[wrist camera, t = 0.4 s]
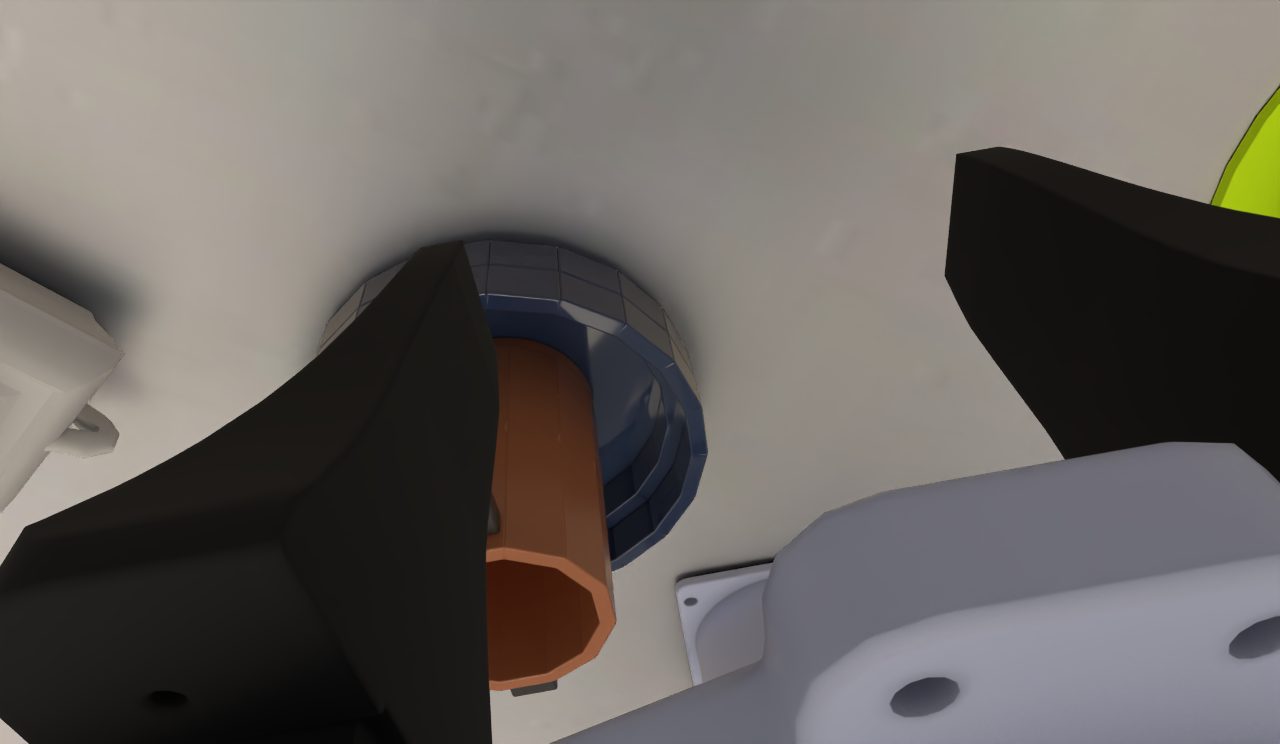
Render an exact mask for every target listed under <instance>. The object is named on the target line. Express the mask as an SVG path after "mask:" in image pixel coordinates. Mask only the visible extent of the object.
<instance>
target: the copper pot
mask: <svg viewBox="0 0 1280 744" xmlns="http://www.w3.org/2000/svg"><path fill="white" fill-rule="evenodd" d="M492 339H493V342H494V345H495V349H496V352H497V360H498V379H499V404H500V411H499V422H498V432H497V443H496V453H495V462H494V472H493V481H492V491H491V500H490V510H489V519H488V529H487V547H486V587H487V633H488V665H489V689H490V690H495V691H499V690H500V691H503V690H508V689H510V690H511V692H512V695H513V696H514V697H517V696H522V695H528V694H533V693H539V692H544V691H550V690H555V689H557V679H559V678H561V677H562V676H564V675H566V674H568V673H569V672H571V671H573V670H575V669H576V668H578V667H580V666H582V665H583V664H585V663H587V662H589V661H590V660H592V659H594V658H595V657H596V656H597V655H598V653H599V652H600V650H601V648H602V646H603V645H604V643H605V641H606V640H607V638H608V636H609V635H610V633H611V631H612V629H613V628H614V626H615V624H616V611H615V601H614V591H613V582H612V572H611V562H610V552H609V542H608V532H607V522H606V512H605V502H604V492H603V483H602V473H601V463H600V453H599V443H598V433H597V423H596V416H595V412H594V408H593V401H592V394H591V390H590V387H589V384H588V382H587V380H586V378H585V376H584V375H583V373H582V372H581V370H580V369H579V368H578V367H577V366H576V365H575V364H574V363H573V362H572V361H571V360H570V359H569V358H568V357H566V356H565V355H564V354H562V353H561V352H559V351H557V350H556V349H554V348H552V347H549V346H547V345H545V344H542V343H539V342H536V341H532V340H527V339H522V338H511V337H503V338H492Z"/></svg>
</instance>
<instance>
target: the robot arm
mask: <svg viewBox="0 0 1280 744" xmlns="http://www.w3.org/2000/svg"><path fill="white" fill-rule="evenodd" d="M945 278H946V280H947V282H948V284H949V286H950V288H951V290H952V292H953V294H954V297H955V299H956V301H957V303H958V305H959V307H960V309H961V311H962V312H963V314H964V316H965V318H966V320H967V322H968V324H969V326H970V327H971V329H972V330H973V332H974V333H975V335H976V336H977V337H978V339H979V340H980V342H981V343H982V344H983V346H984V347H985V349H986V350H987V351H988V353H989V354H990V355H991V357H992V358H993V360H994V361H995V362H996V364H997V365H998V366H999V368H1000V369H1001V370H1002V372H1003V373H1004V375H1005V376H1006V377H1007V379H1008V380H1009V381H1010V383H1011V384H1012V385H1013V387H1014V388H1015V389H1016V391H1017V392H1018V393H1019V395H1020V396H1021V397H1022V399H1023V400H1024V401H1025V403H1026V404H1027V406H1028V407H1029V408H1030V410H1031V411H1032V412H1033V414H1034V415H1035V416H1036V418H1037V419H1038V420H1039V422H1040V423H1041V424H1042V426H1043V427H1044V428H1045V430H1046V431H1047V433H1048V434H1049V436H1050V437H1051V439H1052V440H1053V442H1054V443H1055V445H1056V446H1057V448H1058V449H1059V451H1060V452H1061V454H1062V456H1063V457H1064V459H1065V460H1061V461H1055V462H1050V463H1044V464H1038V465H1033V466H1027V467H1021V468H1015V469H1010V470H1004V471H998V472H993V473H987V474H981V475H976V476H970V477H964V478H958V479H953V480H947V481H941V482H936V483H930V484H924V485H918V486H913V487H907V488H901V489H896V490H890V491H884V492H880V493H877V494H875V495H872V496H869V497H866V498H863V499H861V500H858V501H855V502H852V503H850V504H847V505H844V506H841V507H839V508H836V509H833V510H830V511H827V512H825V513H823V514H822V515H821V516H820V517H818V518H817V519H816V520H815V521H814V522H813V523H812V524H810V525H809V526H808V527H807V528H806V529H805V530H804V531H802V532H801V533H800V534H799V535H798V536H797V537H795V538H794V539H793V540H792V541H791V542H790V543H789V544H787V545H786V546H785V547H784V548H783V549H782V550H781V551H780V552H779V553H778V554H776V555H775V558H774V561H773V563H768V564H762V565H757V566H751V567H745V568H740V569H734V570H729V571H723V572H718V573H712V574H707V575H701V576H695V577H690V578H685V579H682V580H681V581H679V582H678V583H677V584H676V585H675V591H676V597H677V602H678V607H679V613H680V618H681V623H682V629H683V634H684V639H685V644H686V650H687V655H688V660H689V666H690V671H691V676H692V682H693V687H691V688H689V689H686V690H684V691H681V692H679V693H676V694H674V695H671V696H669V697H666V698H663V699H661V700H658V701H656V702H653V703H651V704H648V705H646V706H643V707H641V708H638V709H636V710H633V711H631V712H628V713H626V714H623V715H620V716H618V717H615V718H613V719H610V720H608V721H605V722H603V723H600V724H598V725H595V726H593V727H590V728H588V729H585V730H583V731H580V732H577V733H575V734H572V735H570V736H567V737H565V738H562V739H560V740H557V741H555V742H552V743H550V744H1280V218H1276V217H1271V216H1265V215H1260V214H1254V213H1249V212H1244V211H1238V210H1233V209H1228V208H1224V207H1219V206H1215V205H1210V204H1206V203H1202V202H1198V201H1194V200H1190V199H1186V198H1182V197H1179V196H1175V195H1171V194H1167V193H1163V192H1159V191H1156V190H1152V189H1149V188H1145V187H1142V186H1138V185H1135V184H1131V183H1128V182H1124V181H1121V180H1118V179H1115V178H1111V177H1108V176H1105V175H1102V174H1098V173H1095V172H1092V171H1089V170H1085V169H1082V168H1079V167H1076V166H1073V165H1069V164H1066V163H1063V162H1060V161H1056V160H1053V159H1050V158H1046V157H1043V156H1039V155H1036V154H1032V153H1028V152H1024V151H1020V150H1016V149H1011V148H1004V147H994V148H988V149H982V150H976V151H971V152H965V153H959V154H956V163H955V174H954V184H953V194H952V205H951V215H950V225H949V236H948V246H947V257H946V267H945ZM499 411H500V404H499V379H498V360H497V352H496V349H495V345H494V342H493V339H492V335H491V332H490V329H489V326H488V322H487V319H486V316H485V312H484V309H483V306H482V302H481V299H480V296H479V292H478V289H477V286H476V283H475V279H474V276H473V273H472V269H471V266H470V263H469V259H468V256H467V253H466V249H465V246H464V243H463V241H458V242H452V243H446V244H441V245H435V246H429V247H424V248H421V249H420V250H418V251H417V252H416V253H415V254H414V255H413V256H412V257H411V258H410V259H409V260H408V262H407V263H406V264H405V265H404V266H403V267H402V268H401V269H400V270H399V272H398V273H397V274H396V275H395V276H394V277H393V278H392V280H391V281H390V282H389V283H388V284H387V285H386V286H385V287H384V288H383V290H382V291H381V292H380V293H379V294H378V295H377V296H376V297H375V298H374V299H373V301H372V302H371V303H370V304H369V305H368V306H367V307H366V308H365V309H364V310H363V312H362V313H361V314H360V315H359V316H358V317H357V318H356V319H355V320H354V321H353V322H352V323H351V324H350V325H349V326H348V327H347V328H346V329H345V330H344V331H343V332H342V333H341V334H340V335H339V336H338V337H337V338H336V339H334V340H333V341H332V342H331V343H330V344H329V345H328V346H327V347H326V348H325V349H324V350H323V351H322V352H321V353H320V354H319V355H318V356H317V357H316V358H315V359H314V360H312V361H311V362H310V363H309V364H308V365H307V366H305V367H304V368H303V369H302V370H301V371H300V372H298V373H297V374H296V375H295V376H294V377H292V378H291V379H290V380H288V381H287V382H286V383H285V384H283V385H282V386H281V387H280V388H278V389H277V390H276V391H274V392H273V393H272V394H271V395H269V396H268V397H267V398H265V399H264V400H262V401H261V402H260V403H258V404H257V405H255V406H254V407H252V408H251V409H249V410H248V411H246V412H245V413H243V414H242V415H240V416H239V417H237V418H236V419H234V420H233V421H231V422H230V423H228V424H226V425H225V426H223V427H222V428H220V429H219V430H217V431H216V432H214V433H213V434H211V435H210V436H208V437H207V438H205V439H203V440H202V441H200V442H198V443H197V444H195V445H193V446H191V447H190V448H188V449H186V450H185V451H183V452H181V453H179V454H178V455H176V456H174V457H172V458H171V459H169V460H167V461H165V462H163V463H161V464H159V465H157V466H155V467H154V468H152V469H150V470H148V471H146V472H144V473H142V474H140V475H138V476H137V477H135V478H133V479H130V480H128V481H126V482H124V483H122V484H120V485H118V486H116V487H114V488H112V489H110V490H108V491H105V492H103V493H101V494H99V495H97V496H94V497H92V498H90V499H88V500H85V501H83V502H81V503H79V504H77V505H74V506H72V507H70V508H68V509H65V510H63V511H61V512H59V513H56V514H54V515H52V516H50V517H48V518H45V519H43V520H40V521H38V522H36V523H33V524H31V525H28V526H26V527H25V528H24V529H23V531H22V532H21V534H20V536H19V537H18V539H17V541H16V542H15V544H14V545H13V547H12V548H11V550H10V552H9V553H8V555H7V556H6V558H5V560H4V561H3V563H2V564H1V566H0V718H1V719H2V720H3V721H4V722H5V723H6V724H7V725H9V726H10V727H11V728H12V729H13V730H14V731H15V732H16V733H18V734H19V735H20V736H21V737H22V738H23V739H24V740H25V741H27V742H28V743H29V744H492V730H491V710H490V689H489V665H488V633H487V587H486V547H487V529H488V519H489V510H490V500H491V491H492V481H493V472H494V462H495V453H496V443H497V432H498V422H499Z"/></svg>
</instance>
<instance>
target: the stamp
mask: <svg viewBox="0 0 1280 744" xmlns="http://www.w3.org/2000/svg"><path fill="white" fill-rule="evenodd" d="M123 355H124V353H123V352H122V350H120V349H119V348H118V346H117V344H116V342H115V340H114V339H113V338H112V337H111V336H110V335H109V334H108V333H107V332H106V331H105V330H104V329H103V328H102V327H101V326H100V325H99V324H98V323H97V322H96V321H95V319H94V317H93V314H92V312H90V311H88V310H86V309H84V308H83V307H81V306H79V305H77V304H75V303H73V302H71V301H70V300H68V299H66V298H64V297H62V296H60V295H58V294H56V293H55V292H53V291H51V290H49V289H47V288H45V287H43V286H42V285H40V284H38V283H36V282H34V281H32V280H30V279H28V278H27V277H25V276H23V275H21V274H19V273H17V272H15V271H13V270H12V269H10V268H8V267H6V266H4V265H2V264H0V513H1V512H2V511H3V510H4V509H5V508H6V507H7V506H8V504H9V503H10V502H11V501H13V500H14V498H15V497H16V496H17V494H18V493H19V492H20V490H21V489H22V488H23V486H24V485H25V484H26V483H27V481H28V480H29V479H30V477H31V476H32V475H33V473H34V472H35V471H36V469H37V468H38V467H39V465H40V464H41V463H42V462H43V460H44V459H45V458H46V456H47V455H48V454H49V452H58V453H66V454H69V455H73V456H76V457H79V458H88V457H93V456H97V455H102V454H107V453H111V452H112V451H113V450H114V447H115V445H116V442H117V440H118V437H119V432H118V431H117V429H116V428H115V426H114V425H113V423H112V422H111V421H110V420H109V419H108V418H107V417H105V416H104V415H103V414H102V413H100V412H99V411H97V410H96V409H94V408H93V407H91V406H90V405H88V404H87V403H88V401H89V400H90V399H91V397H92V396H93V395H94V393H95V392H96V391H97V390H98V388H99V387H100V386H101V384H102V383H103V382H104V380H105V379H106V378H107V376H108V375H109V374H110V372H111V371H112V370H113V369H114V367H115V366H116V365H117V363H118V362H119V361H120V359H121V358H122V357H123ZM72 422H73V423H74V424H75V425H76V426H77V428H78V429H80V430H77V429H69V428H68V427H69V426H70V425H71V424H72Z"/></svg>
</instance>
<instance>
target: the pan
mask: <svg viewBox="0 0 1280 744" xmlns="http://www.w3.org/2000/svg"><path fill="white" fill-rule="evenodd" d="M464 246H465V249H466V253H467V256H468V259H469V263H470V266H471V269H472V273H473V276H474V279H475V283H476V286H477V289H478V292H479V296H480V299H481V302H482V306H483V309H484V312H485V316H486V319H487V322H488V326H489V329H490V332H491V335H492V338H503V337H511V338H522V339H527V340H532V341H536V342H539V343H542V344H545V345H547V346H549V347H552V348H554V349H556V350H557V351H559V352H561V353H562V354H564V355H565V356H566V357H568V358H569V359H570V360H571V361H572V362H573V363H574V364H575V365H576V366H577V367H578V368H579V369H580V370H581V372H582V373H583V375H584V376H585V378H586V380H587V382H588V384H589V387H590V390H591V394H592V401H593V408H594V412H595V416H596V423H597V433H598V443H599V453H600V463H601V473H602V483H603V492H604V502H605V512H606V522H607V532H608V542H609V552H610V562H611V572H612V571H615V570H617V569H619V568H622V567H624V566H625V565H627V564H629V563H630V562H632V561H633V560H634V559H636V558H637V557H638V556H640V555H641V554H642V553H644V552H645V551H647V550H648V549H649V548H651V547H652V546H653V545H655V544H656V543H657V542H659V541H660V540H662V539H663V538H664V537H665V536H666V535H667V534H668V533H669V532H670V530H671V529H672V528H673V526H674V525H675V524H676V522H677V521H678V520H679V518H680V517H681V516H682V514H683V513H684V512H685V510H686V509H687V508H688V506H689V505H690V504H691V502H692V501H693V500H694V497H695V496H696V492H697V489H698V486H699V482H700V479H701V475H702V472H703V468H704V465H705V462H706V458H707V455H708V454H707V453H708V448H707V440H706V433H705V425H704V417H703V409H702V404H701V401H700V397H699V393H698V389H697V385H696V381H695V378H694V374H693V370H692V366H691V362H690V358H689V354H688V352H687V349H686V347H685V345H684V344H683V342H682V340H681V339H680V337H679V335H678V333H677V332H676V330H675V328H674V326H673V325H672V323H671V321H670V320H669V318H668V316H667V314H666V313H665V311H664V309H663V308H661V306H660V305H659V304H658V303H657V302H656V301H654V300H653V299H652V298H651V297H650V296H648V295H647V294H646V293H645V292H643V291H642V290H641V289H640V288H639V287H637V286H636V285H635V284H634V283H633V282H631V281H630V280H629V279H628V278H627V277H625V276H624V275H623V274H622V273H620V272H619V271H617V270H616V269H613V268H611V267H608V266H606V265H603V264H601V263H598V262H596V261H593V260H591V259H588V258H586V257H583V256H581V255H578V254H576V253H573V252H571V251H568V250H566V249H563V248H561V247H558V248H557V247H555V246H547V245H537V244H526V243H516V242H506V241H496V240H492V241H490V240H483V241H478V242H472V243H466V244H464ZM408 260H409V259H408ZM408 260H406V261H404V262H402V263H400V264H398V265H397V266H395V267H393V268H391V269H389V270H387V271H385V272H383V273H381V274H379V275H377V276H375V277H373V278H371V279H369V280H368V281H366V282H365V283H364V284H363V285H362V286H361V287H360V288H359V289H358V290H357V291H356V292H355V294H354V295H353V296H352V297H351V298H350V299H349V300H348V301H347V302H346V303H345V304H344V305H343V306H342V308H341V309H340V310H339V311H338V312H337V313H336V314H335V315H334V316H333V317H332V318H331V319H330V320H329V322H328V324H327V325H326V328H325V331H324V333H323V336H322V339H321V342H320V344H319V347H318V350H317V353H316V355H315V358H316V357H317V356H318V355H319V354H320V353H321V352H322V351H323V350H324V349H325V348H326V347H327V346H328V345H329V344H330V343H331V342H332V341H333V340H334V339H336V338H337V337H338V336H339V335H340V334H341V333H342V332H343V331H344V330H345V329H346V328H347V327H348V326H349V325H350V324H351V323H352V322H353V321H354V320H355V319H356V318H357V317H358V316H359V315H360V314H361V313H362V312H363V310H364V309H365V308H366V307H367V306H368V305H369V304H370V303H371V302H372V301H373V299H374V298H375V297H376V296H377V295H378V294H379V293H380V292H381V291H382V290H383V288H384V287H385V286H386V285H387V284H388V283H389V282H390V281H391V280H392V278H393V277H394V276H395V275H396V274H397V273H398V272H399V270H400V269H401V268H402V267H403V266H404V265H405V264H406V263H407V262H408ZM315 358H314V359H315Z"/></svg>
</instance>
